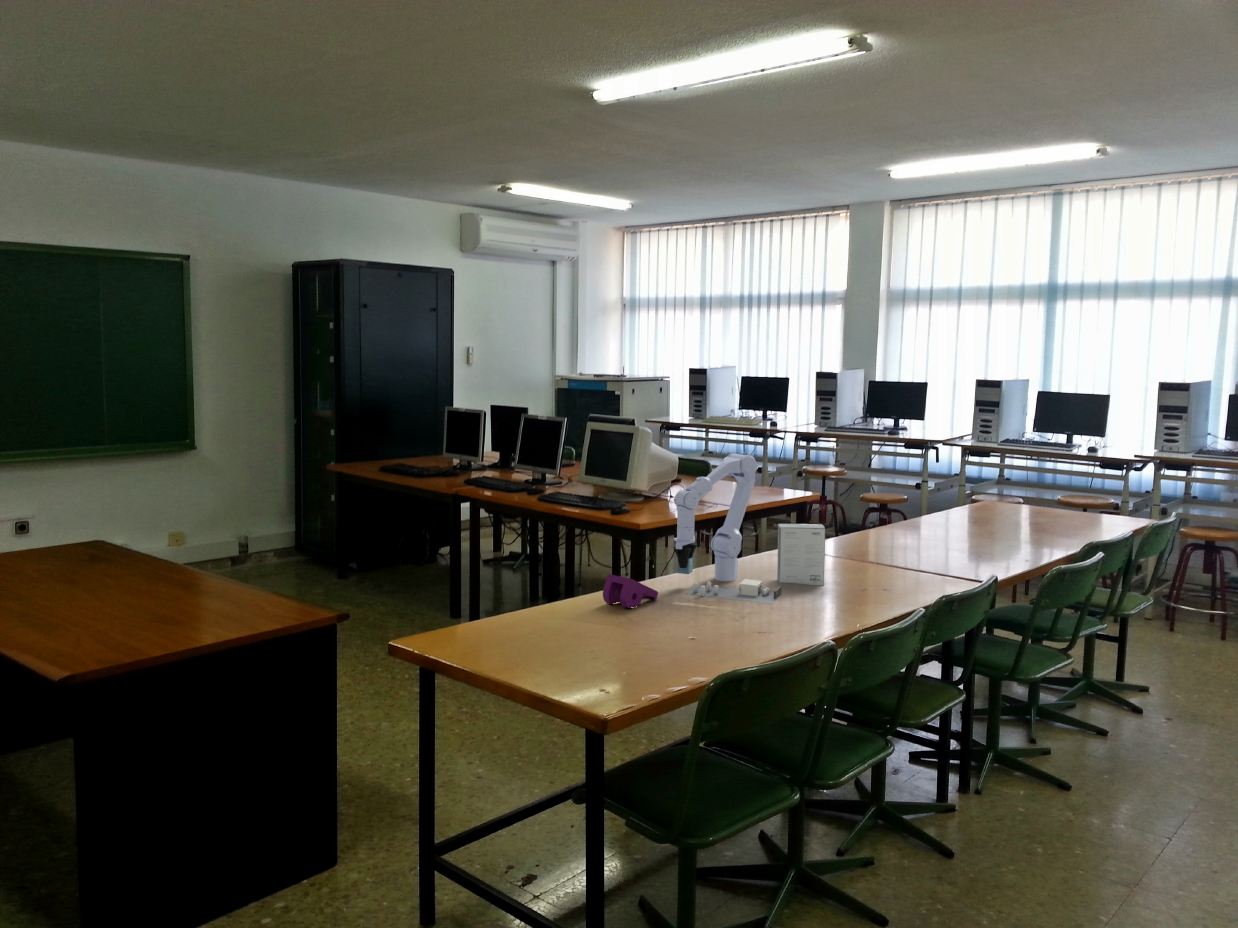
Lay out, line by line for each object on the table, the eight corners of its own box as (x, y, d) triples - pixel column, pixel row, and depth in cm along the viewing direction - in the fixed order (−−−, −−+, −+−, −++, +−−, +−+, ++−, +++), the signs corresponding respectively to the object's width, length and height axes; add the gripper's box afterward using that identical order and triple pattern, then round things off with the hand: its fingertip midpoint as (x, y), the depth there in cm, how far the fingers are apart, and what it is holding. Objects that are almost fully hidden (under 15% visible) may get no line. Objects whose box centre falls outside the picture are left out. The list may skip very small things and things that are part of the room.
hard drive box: (821, 580, 324) (823, 524, 322) (824, 586, 316) (826, 528, 314) (776, 579, 325) (778, 522, 323) (777, 584, 318) (779, 526, 316)
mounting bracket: (633, 614, 300) (599, 600, 287) (641, 589, 302) (607, 573, 289) (656, 620, 294) (623, 605, 281) (664, 594, 295) (631, 578, 282)
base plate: (697, 586, 313) (697, 575, 313) (781, 595, 303) (781, 584, 302) (683, 596, 300) (683, 585, 299) (770, 606, 289) (771, 594, 288)
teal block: (681, 570, 315) (681, 556, 314) (692, 571, 313) (692, 557, 313) (677, 573, 311) (677, 558, 310) (688, 574, 310) (688, 559, 309)
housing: (744, 589, 307) (744, 579, 306) (762, 591, 304) (762, 580, 304) (738, 594, 300) (739, 583, 300) (757, 596, 298) (757, 585, 298)
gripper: (681, 521, 318) (680, 561, 320) (667, 529, 305) (666, 569, 307) (701, 523, 316) (700, 562, 317) (687, 530, 302) (687, 571, 304)
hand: (685, 566), depth 312 cm, fingers closed on teal block, 4 cm apart
